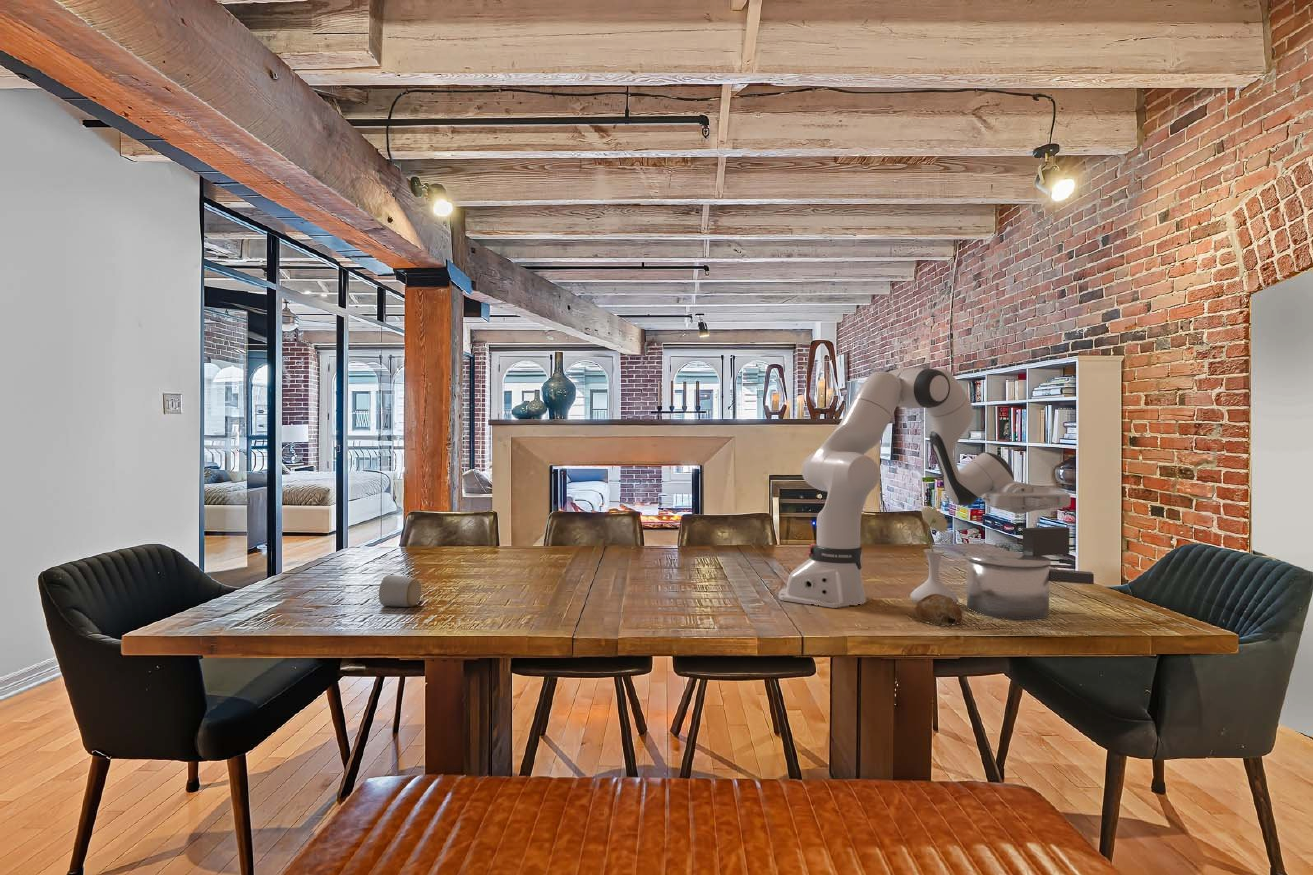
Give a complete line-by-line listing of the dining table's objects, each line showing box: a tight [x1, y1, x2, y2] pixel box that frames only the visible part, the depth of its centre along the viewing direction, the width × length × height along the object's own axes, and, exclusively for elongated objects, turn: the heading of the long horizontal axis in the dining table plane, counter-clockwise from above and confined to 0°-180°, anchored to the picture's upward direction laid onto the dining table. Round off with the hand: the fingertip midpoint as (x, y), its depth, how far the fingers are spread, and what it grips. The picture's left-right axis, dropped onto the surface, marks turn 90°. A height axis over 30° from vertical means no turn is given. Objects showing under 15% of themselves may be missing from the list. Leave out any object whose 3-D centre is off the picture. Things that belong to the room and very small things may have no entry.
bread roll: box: [914, 594, 963, 626], centre depth 157 cm, size 10×10×8 cm
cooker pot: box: [966, 559, 1095, 622], centre depth 164 cm, size 27×18×12 cm, turn 68°
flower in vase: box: [909, 505, 959, 604], centre depth 172 cm, size 13×11×25 cm
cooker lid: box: [965, 525, 1070, 568], centre depth 167 cm, size 28×19×8 cm
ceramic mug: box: [378, 574, 422, 608], centre depth 171 cm, size 11×8×8 cm
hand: (1043, 502), depth 177 cm, fingers closed
